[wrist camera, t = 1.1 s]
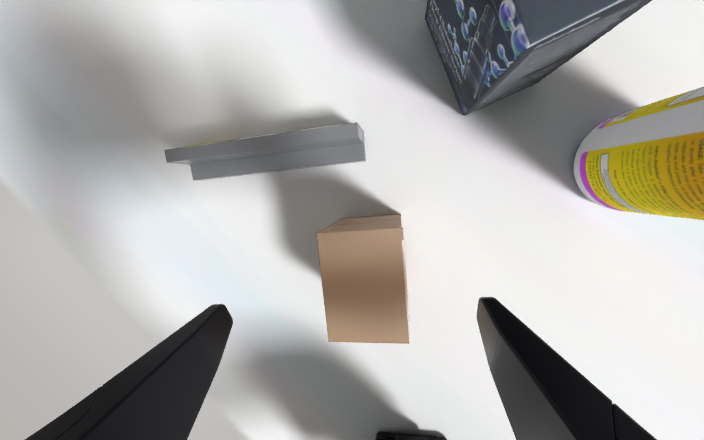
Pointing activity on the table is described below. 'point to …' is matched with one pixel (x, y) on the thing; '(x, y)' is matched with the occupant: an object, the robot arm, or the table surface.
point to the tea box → (364, 280)
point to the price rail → (273, 152)
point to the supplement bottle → (648, 159)
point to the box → (514, 40)
